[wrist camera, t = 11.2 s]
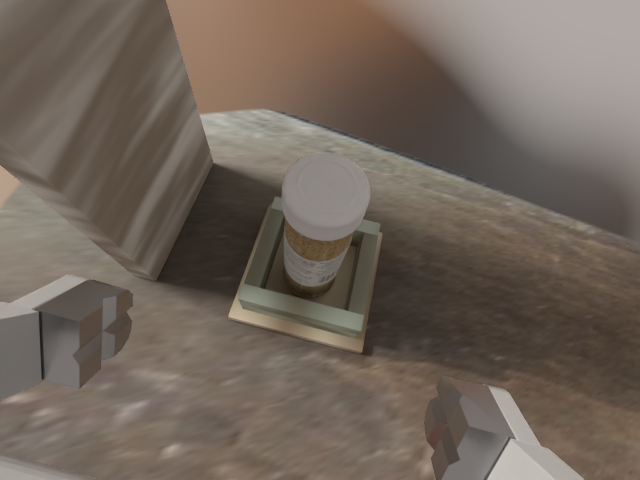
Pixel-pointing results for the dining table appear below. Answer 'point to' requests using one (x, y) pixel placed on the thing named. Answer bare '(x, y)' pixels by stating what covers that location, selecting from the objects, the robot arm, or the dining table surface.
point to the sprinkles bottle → (320, 219)
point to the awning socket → (144, 155)
